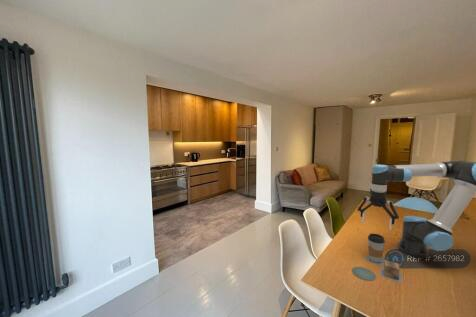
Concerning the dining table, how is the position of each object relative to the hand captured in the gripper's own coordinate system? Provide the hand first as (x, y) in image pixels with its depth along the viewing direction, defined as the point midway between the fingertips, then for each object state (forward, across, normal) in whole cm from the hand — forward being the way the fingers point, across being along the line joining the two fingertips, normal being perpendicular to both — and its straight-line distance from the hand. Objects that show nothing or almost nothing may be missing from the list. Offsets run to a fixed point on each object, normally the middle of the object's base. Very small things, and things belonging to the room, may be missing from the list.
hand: (376, 225), depth 121 cm
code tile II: (+22, -10, +10) cm, 26 cm away
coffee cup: (+22, 0, 0) cm, 22 cm away
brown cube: (+22, -10, +10) cm, 26 cm away
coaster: (+22, +1, +19) cm, 29 cm away
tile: (+22, 0, 0) cm, 22 cm away
